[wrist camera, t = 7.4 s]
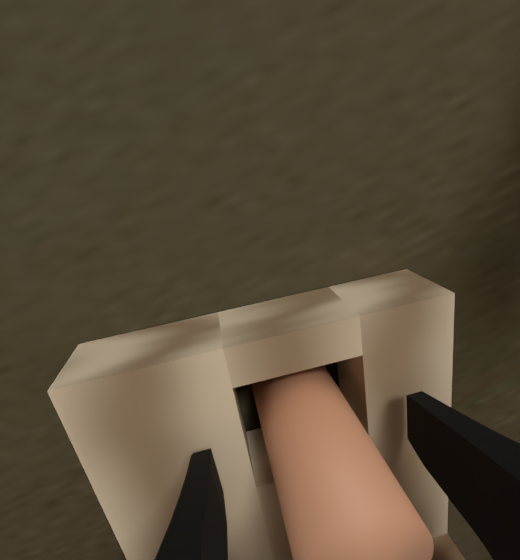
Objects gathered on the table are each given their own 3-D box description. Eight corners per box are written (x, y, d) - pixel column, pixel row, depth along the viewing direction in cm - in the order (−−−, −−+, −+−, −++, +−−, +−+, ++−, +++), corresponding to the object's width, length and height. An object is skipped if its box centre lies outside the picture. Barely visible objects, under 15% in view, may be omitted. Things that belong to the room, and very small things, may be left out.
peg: (320, 335, 15) (437, 499, 8) (324, 397, 16) (430, 593, 9) (245, 350, 15) (293, 538, 7) (255, 412, 16) (305, 631, 8)
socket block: (406, 269, 15) (561, 346, 9) (411, 494, 20) (512, 651, 13) (78, 344, 13) (-29, 504, 7) (170, 567, 18) (155, 783, 12)
